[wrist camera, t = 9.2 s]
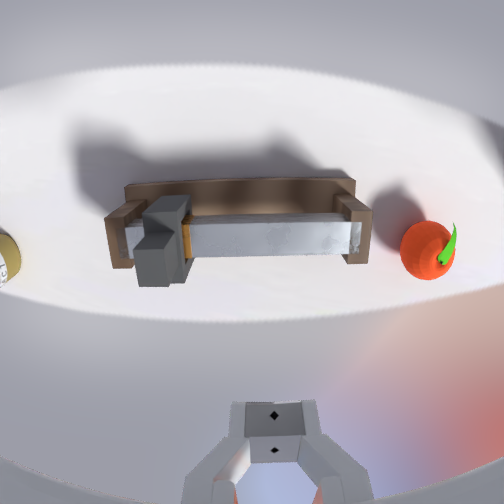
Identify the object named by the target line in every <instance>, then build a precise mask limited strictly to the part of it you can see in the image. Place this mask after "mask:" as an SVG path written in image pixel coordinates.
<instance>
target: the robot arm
mask: <svg viewBox="0 0 504 504" xmlns="http://www.w3.org/2000/svg"><path fill="white" fill-rule="evenodd" d="M272 462H297V463H298V464H299V466H300V467H301V468H302V469H303V471H304V472H305V473H306V474H307V475H308V477H309V478H310V479H311V480H312V481H313V482H314V484H315V485H316V486H317V487H318V490H317V492H316V495H315V498H314V501H313V503H312V504H504V456H503V457H501V458H499V459H497V460H495V461H493V462H490V463H488V464H486V465H483V466H481V467H479V468H476V469H474V470H471V471H469V472H466V473H464V474H461V475H458V476H455V477H453V478H450V479H447V480H444V481H442V482H438V483H435V484H432V485H428V486H425V487H422V488H418V489H415V490H411V491H407V492H403V493H399V494H395V495H391V496H387V497H382V498H378V499H374V497H373V493H372V488H371V484H370V480H369V476H368V472H367V470H366V469H365V468H364V467H363V466H361V465H360V464H359V463H358V462H357V461H356V460H354V459H353V458H352V457H351V456H350V455H349V454H348V453H346V452H345V451H344V450H343V449H342V448H341V447H340V446H339V445H338V444H336V443H335V442H334V441H333V440H332V439H331V438H330V437H329V436H328V435H327V434H322V432H321V427H320V421H319V416H318V410H317V405H316V401H315V400H303V401H302V400H301V401H300V400H298V401H282V402H232V403H231V410H230V422H229V436H228V437H224V438H223V439H222V440H221V441H220V442H219V443H218V444H217V445H216V446H215V447H214V449H212V451H211V452H210V453H209V454H208V455H207V456H206V457H205V458H204V459H203V460H202V461H201V462H200V463H199V464H198V465H197V466H196V467H195V468H194V469H193V470H192V471H191V472H190V473H189V474H188V475H187V476H186V477H185V483H184V488H183V494H182V501H181V504H238V502H237V497H236V490H235V485H236V484H237V482H238V481H239V480H240V478H241V477H242V476H243V474H244V473H245V472H246V470H247V469H248V467H249V466H250V465H251V463H272ZM0 504H156V503H150V502H144V501H139V500H134V499H128V498H124V497H119V496H115V495H111V494H107V493H103V492H99V491H95V490H92V489H88V488H84V487H81V486H78V485H75V484H72V483H68V482H65V481H62V480H59V479H57V478H54V477H51V476H48V475H45V474H43V473H40V472H38V471H35V470H33V469H30V468H28V467H25V466H23V465H21V464H18V463H16V462H14V461H11V460H9V459H7V458H5V457H3V456H1V455H0Z"/></svg>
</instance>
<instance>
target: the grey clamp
mask: <svg viewBox="0 0 504 504" xmlns="http://www.w3.org/2000/svg"><path fill="white" fill-rule="evenodd" d="M185 215H192V203H191V194H190V195H171V196H161V197H160V198H159V199H158V200H156V201H155V202H154V203H153V204H152V205H151V206H149V207H148V208H147V209H146V210H145V211H144V212H142V220H143V228H144V237H143V238H142V240H141V241H140V242H139V243H138V244H137V245H136V246H135V248H134V249H133V256H134V262H135V268H136V273H137V279H138V284H139V287H169V285H170V283H185V281H186V278H187V276H188V273H189V271H190V268H191V266H192V263H193V261H194V258H195V257H192V258H185V256H184V246H183V237H182V226H181V221H182V219H183V218H184V217H185Z"/></svg>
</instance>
